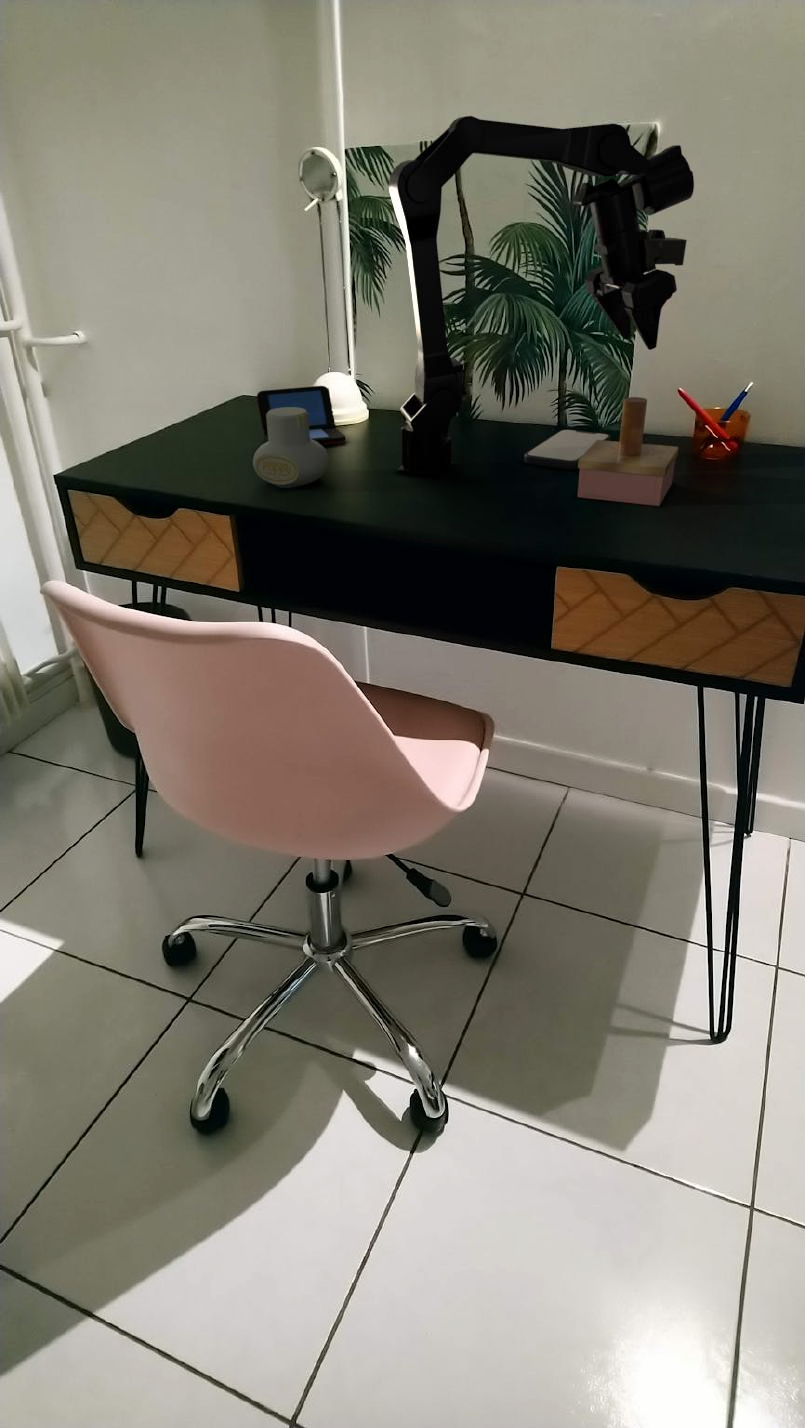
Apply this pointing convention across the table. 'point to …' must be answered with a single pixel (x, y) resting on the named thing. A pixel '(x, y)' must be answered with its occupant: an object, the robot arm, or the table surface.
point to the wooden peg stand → (630, 447)
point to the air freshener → (290, 450)
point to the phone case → (563, 449)
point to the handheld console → (312, 402)
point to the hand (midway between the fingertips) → (639, 343)
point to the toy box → (624, 486)
